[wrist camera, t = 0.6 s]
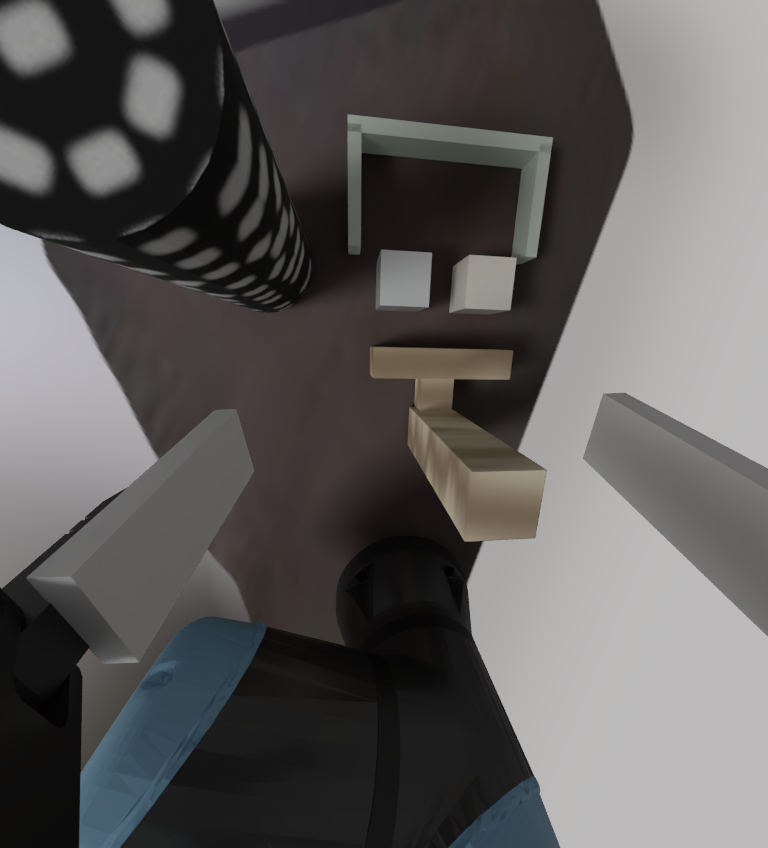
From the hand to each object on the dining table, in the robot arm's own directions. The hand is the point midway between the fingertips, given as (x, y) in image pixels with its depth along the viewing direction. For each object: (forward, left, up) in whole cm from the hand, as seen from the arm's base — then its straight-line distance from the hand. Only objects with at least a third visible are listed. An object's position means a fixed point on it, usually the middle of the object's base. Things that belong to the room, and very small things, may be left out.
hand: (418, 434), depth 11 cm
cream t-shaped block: (-2, -6, -19) cm, 20 cm away
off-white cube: (+8, -9, -19) cm, 23 cm away
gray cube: (+8, -2, -19) cm, 21 cm away
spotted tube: (+10, +10, -19) cm, 24 cm away
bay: (+15, -6, -19) cm, 25 cm away
